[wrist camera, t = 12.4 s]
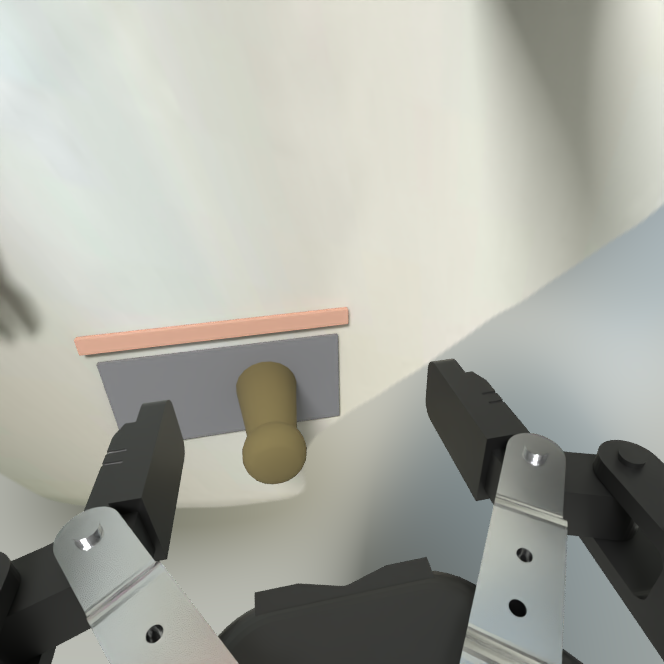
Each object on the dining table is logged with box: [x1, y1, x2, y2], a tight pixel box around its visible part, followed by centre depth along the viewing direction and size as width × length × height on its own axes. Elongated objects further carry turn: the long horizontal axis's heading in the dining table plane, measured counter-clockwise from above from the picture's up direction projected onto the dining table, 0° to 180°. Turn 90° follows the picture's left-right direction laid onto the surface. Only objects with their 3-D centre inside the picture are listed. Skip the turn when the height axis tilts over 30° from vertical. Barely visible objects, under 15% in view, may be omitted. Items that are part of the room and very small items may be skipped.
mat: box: [97, 334, 339, 439], centre depth 42 cm, size 22×10×1 cm, turn 91°
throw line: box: [74, 307, 348, 356], centre depth 39 cm, size 24×2×1 cm, turn 91°
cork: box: [236, 361, 307, 484], centre depth 38 cm, size 6×6×11 cm
